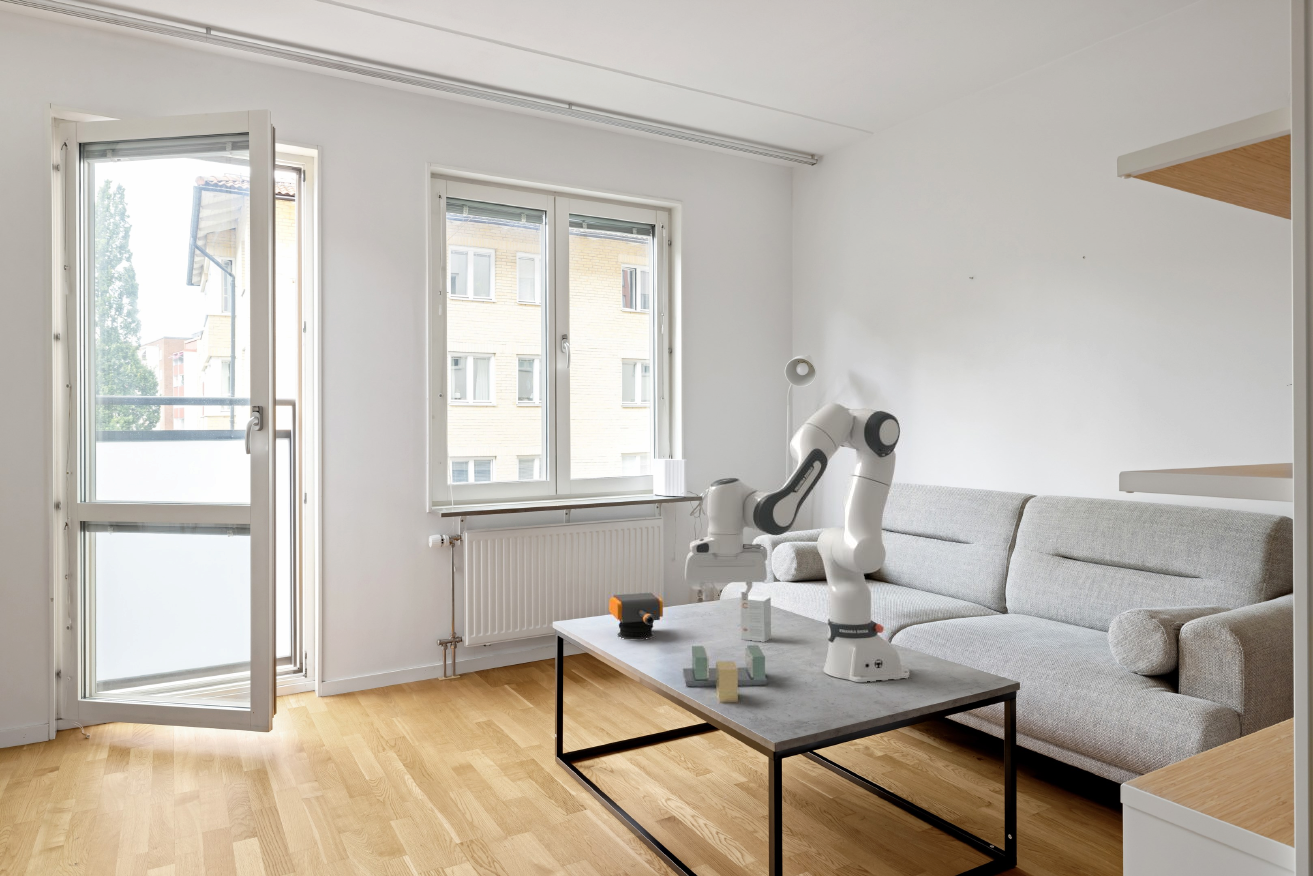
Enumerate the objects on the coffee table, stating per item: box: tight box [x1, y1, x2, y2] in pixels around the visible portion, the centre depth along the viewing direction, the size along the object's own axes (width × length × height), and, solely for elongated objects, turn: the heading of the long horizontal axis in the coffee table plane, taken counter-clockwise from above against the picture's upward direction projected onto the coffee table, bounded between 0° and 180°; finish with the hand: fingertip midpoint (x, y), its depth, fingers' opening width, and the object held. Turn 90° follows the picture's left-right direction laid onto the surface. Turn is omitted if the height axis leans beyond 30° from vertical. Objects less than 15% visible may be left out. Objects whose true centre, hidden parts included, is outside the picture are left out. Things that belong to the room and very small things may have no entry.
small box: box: [740, 594, 772, 643], centre depth 262 cm, size 8×6×13 cm
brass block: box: [715, 660, 739, 703], centre depth 206 cm, size 4×7×8 cm, turn 2°
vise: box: [682, 644, 768, 687], centre depth 220 cm, size 21×11×8 cm, turn 92°
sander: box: [608, 592, 664, 640], centre depth 263 cm, size 15×25×13 cm, turn 16°
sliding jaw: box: [691, 645, 710, 680], centre depth 220 cm, size 4×11×6 cm, turn 2°
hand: (725, 600), depth 206 cm, fingers open, 8 cm apart
